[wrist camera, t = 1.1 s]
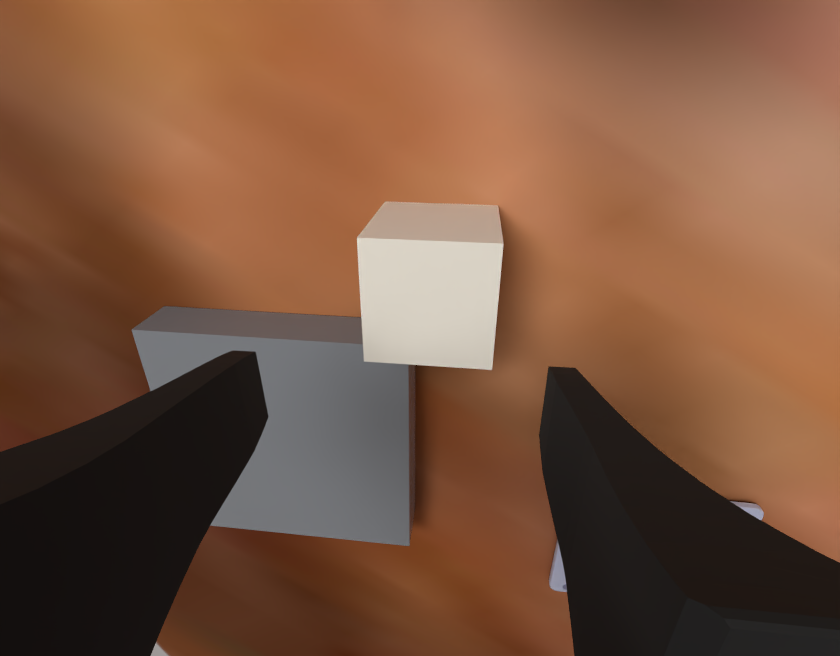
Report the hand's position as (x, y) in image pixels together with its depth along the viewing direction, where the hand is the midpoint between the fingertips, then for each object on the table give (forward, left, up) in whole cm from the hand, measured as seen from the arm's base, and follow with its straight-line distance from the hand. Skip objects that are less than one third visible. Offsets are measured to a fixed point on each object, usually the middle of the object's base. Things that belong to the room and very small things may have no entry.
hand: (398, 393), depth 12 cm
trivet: (+7, +9, -9) cm, 15 cm away
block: (0, 0, -10) cm, 10 cm away
